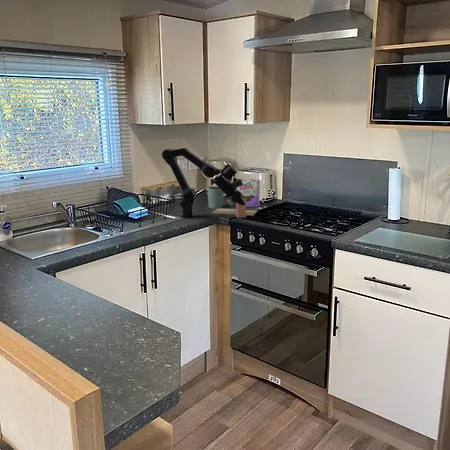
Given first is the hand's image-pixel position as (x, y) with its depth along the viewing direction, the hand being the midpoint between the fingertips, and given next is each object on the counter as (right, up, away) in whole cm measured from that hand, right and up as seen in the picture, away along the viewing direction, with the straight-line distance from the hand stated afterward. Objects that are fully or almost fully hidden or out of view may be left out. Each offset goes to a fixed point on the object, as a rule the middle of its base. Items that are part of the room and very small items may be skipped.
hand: (243, 204), depth 261 cm
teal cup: (-16, -1, +29) cm, 33 cm away
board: (-4, -4, +13) cm, 14 cm away
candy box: (+4, 0, +32) cm, 32 cm away
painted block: (-1, -7, +1) cm, 7 cm away
